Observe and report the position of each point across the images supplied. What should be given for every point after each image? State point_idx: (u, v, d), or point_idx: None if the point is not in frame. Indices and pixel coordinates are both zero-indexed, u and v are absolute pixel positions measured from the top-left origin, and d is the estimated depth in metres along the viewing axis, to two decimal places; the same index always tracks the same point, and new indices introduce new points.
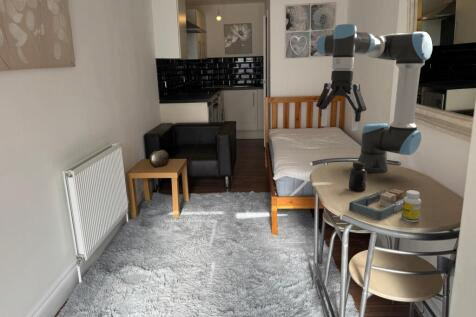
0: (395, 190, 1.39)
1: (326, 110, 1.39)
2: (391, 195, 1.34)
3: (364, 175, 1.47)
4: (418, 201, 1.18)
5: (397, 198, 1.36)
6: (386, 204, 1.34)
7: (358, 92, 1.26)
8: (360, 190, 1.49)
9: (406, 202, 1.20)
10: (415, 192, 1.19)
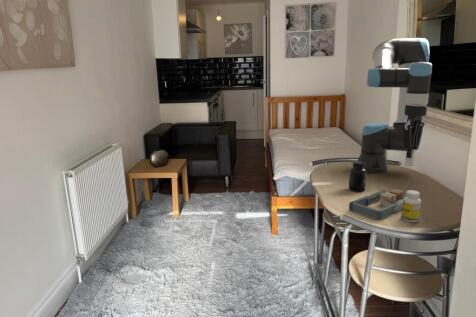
0: (395, 190, 1.39)
1: None
2: (391, 195, 1.34)
3: (364, 175, 1.47)
4: (418, 201, 1.18)
5: (397, 198, 1.36)
6: (386, 204, 1.34)
7: (406, 132, 1.34)
8: (360, 190, 1.49)
9: (406, 202, 1.20)
10: (415, 192, 1.19)
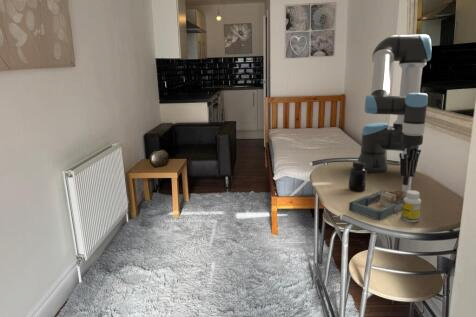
0: (395, 190, 1.39)
1: None
2: (391, 195, 1.34)
3: (364, 175, 1.47)
4: (418, 201, 1.18)
5: (397, 198, 1.36)
6: (386, 204, 1.34)
7: (402, 161, 1.37)
8: (360, 190, 1.49)
9: (406, 202, 1.20)
10: (415, 192, 1.19)
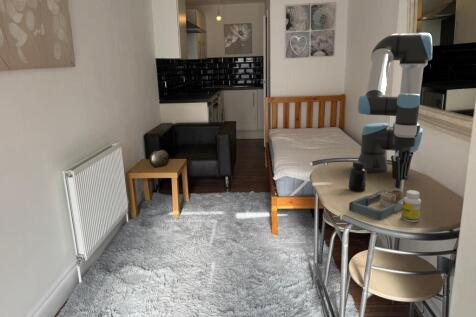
0: (393, 190, 1.38)
1: None
2: (391, 195, 1.34)
3: (364, 175, 1.47)
4: (418, 201, 1.18)
5: None
6: (386, 204, 1.34)
7: (394, 163, 1.33)
8: (360, 190, 1.49)
9: (406, 202, 1.20)
10: (415, 192, 1.19)
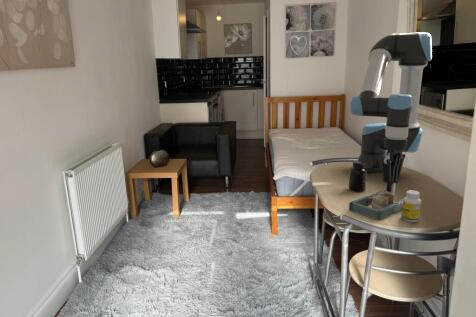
0: (385, 194, 1.34)
1: None
2: (383, 198, 1.30)
3: (364, 175, 1.47)
4: (418, 201, 1.18)
5: None
6: (378, 207, 1.30)
7: (385, 166, 1.29)
8: (360, 190, 1.49)
9: (406, 202, 1.20)
10: (415, 192, 1.19)
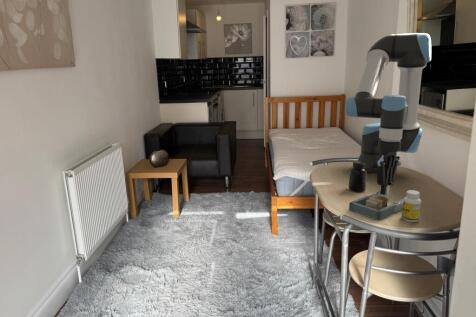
0: (379, 197, 1.32)
1: None
2: (377, 201, 1.28)
3: (364, 175, 1.47)
4: (418, 201, 1.18)
5: None
6: None
7: (379, 168, 1.27)
8: (360, 190, 1.49)
9: (406, 202, 1.20)
10: (415, 192, 1.19)
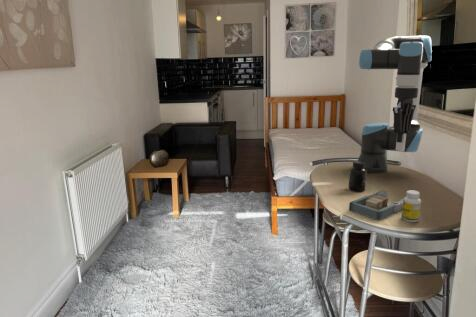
0: (379, 197, 1.32)
1: None
2: (377, 201, 1.28)
3: (364, 175, 1.47)
4: (418, 201, 1.18)
5: None
6: None
7: (396, 115, 1.29)
8: (360, 190, 1.49)
9: (406, 202, 1.20)
10: (415, 192, 1.19)
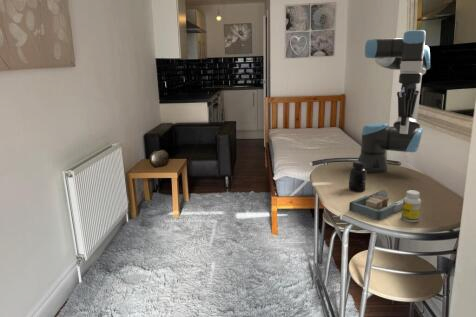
0: (379, 197, 1.32)
1: None
2: (377, 201, 1.28)
3: (364, 175, 1.47)
4: (418, 201, 1.18)
5: None
6: None
7: (400, 99, 1.37)
8: (360, 190, 1.49)
9: (406, 202, 1.20)
10: (415, 192, 1.19)
